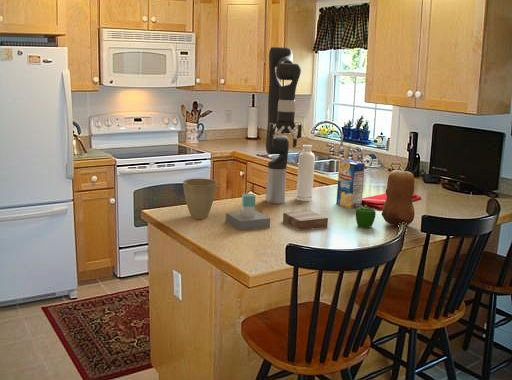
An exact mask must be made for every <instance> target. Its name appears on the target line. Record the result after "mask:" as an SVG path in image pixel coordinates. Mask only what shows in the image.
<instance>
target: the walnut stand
mask: <svg viewBox="0 0 512 380" xmlns="http://www.w3.org/2000/svg"><path fill="white" fill-rule="evenodd" d="M282 216H283V217H282V222H283V223H286V225H287V224H288V225H289V226H291V227H293V228H295V229H297V230H299V231H303V230H313V229H312V228H314V229H322V228H321V227H323V228H328V225H329V223H328V222H329V218H328V217H327V216H324V215H322V214H320V213H318V212H315V211H313V210H311V209H309V210H299V211H289V212H288V211H287V212H283V215H282Z"/></svg>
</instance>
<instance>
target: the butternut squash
mask: <svg viewBox="0 0 512 380" xmlns="http://www.w3.org/2000/svg"><path fill="white" fill-rule="evenodd" d="M385 193H386V195H387V198H386V201H385V203H384V205H383V210H381V211H382V212H381V217H382V218H383V220H384V221H385V222H386V223H387V224H389V225H391V226H394V227H395V228H399V227H398V225H399V223H402V222H405V223H407V225H406V226H408V225H410V224H411V223H413V222H414V219H415V207H414V204H413V202H412V197H413V193H415V176H414V173H412V172H410V171H405V170H402V169H401V170H400V169H393V170H392V171H390V172H389V174H388V177H387V184H386V189H385Z"/></svg>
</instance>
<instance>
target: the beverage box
mask: <svg viewBox="0 0 512 380" xmlns="http://www.w3.org/2000/svg"><path fill="white" fill-rule="evenodd" d="M338 165H339V166H338V176H337V177H338V179H337V190H336V191H337V192H336V204H337V205H340V206H343V207H345V208H349V209H359V208H361V207H362V206H361V205H362V198H363V191H364V181H365V168H366V166H365V165H366V163H365V162H361V161H357V160H352V159H345V160H339V163H338Z"/></svg>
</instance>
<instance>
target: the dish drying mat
mask: <svg viewBox="0 0 512 380" xmlns="http://www.w3.org/2000/svg"><path fill="white" fill-rule="evenodd" d="M386 198H387V195H386V192H385V193H382V194H375V195H371V196H366V197H362V205H361V207H362V208H365V207H364V206H365V205H367V209H368V208H371V209H372V210H375V211H383V205H384V203H385V201H386ZM418 199H419V200H422V196H420V195H418V194H417V193H415V192H414V193H413V197H412V201H413V202H416V201H418ZM415 200H416V201H415Z"/></svg>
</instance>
